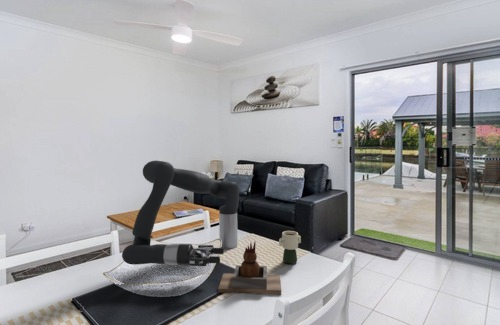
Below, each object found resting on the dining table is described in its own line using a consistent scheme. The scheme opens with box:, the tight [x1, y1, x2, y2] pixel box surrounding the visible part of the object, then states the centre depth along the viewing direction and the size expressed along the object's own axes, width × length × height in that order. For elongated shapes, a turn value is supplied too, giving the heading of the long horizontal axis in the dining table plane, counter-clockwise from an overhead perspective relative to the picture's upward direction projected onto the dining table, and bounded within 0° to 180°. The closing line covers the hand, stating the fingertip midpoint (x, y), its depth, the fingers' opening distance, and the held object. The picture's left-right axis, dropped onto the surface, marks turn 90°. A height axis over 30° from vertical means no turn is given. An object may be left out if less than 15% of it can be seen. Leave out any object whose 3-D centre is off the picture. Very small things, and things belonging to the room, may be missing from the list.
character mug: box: [278, 230, 302, 264], centre depth 126 cm, size 11×7×13 cm, turn 113°
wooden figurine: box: [240, 241, 260, 278], centre depth 105 cm, size 7×6×15 cm
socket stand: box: [217, 265, 282, 296], centre depth 105 cm, size 12×22×5 cm, turn 86°
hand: (221, 255), depth 105 cm, fingers open, 8 cm apart
